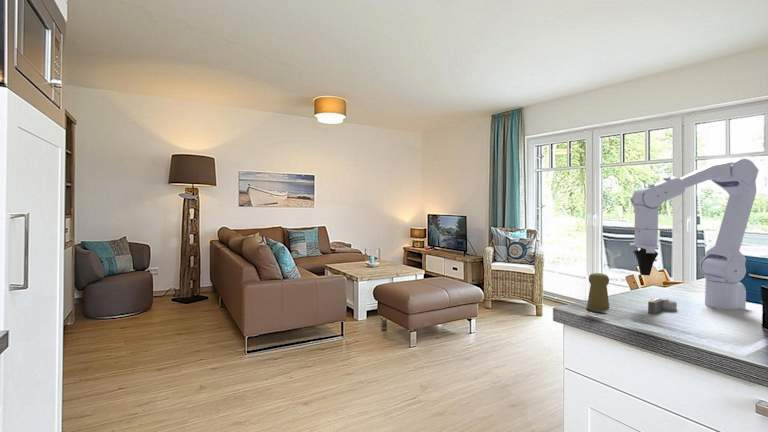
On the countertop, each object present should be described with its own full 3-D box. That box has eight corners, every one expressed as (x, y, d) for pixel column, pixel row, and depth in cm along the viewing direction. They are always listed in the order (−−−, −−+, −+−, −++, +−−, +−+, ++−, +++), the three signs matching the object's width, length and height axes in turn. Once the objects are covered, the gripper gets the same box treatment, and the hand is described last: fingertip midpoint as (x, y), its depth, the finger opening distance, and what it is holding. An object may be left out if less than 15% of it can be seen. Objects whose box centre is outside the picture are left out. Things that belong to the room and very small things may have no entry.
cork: (613, 314, 110) (614, 275, 110) (590, 313, 111) (590, 275, 111) (605, 309, 116) (606, 272, 116) (583, 307, 117) (584, 271, 117)
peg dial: (655, 304, 116) (655, 293, 116) (679, 308, 112) (680, 296, 111) (638, 310, 109) (639, 298, 109) (664, 315, 104) (664, 303, 104)
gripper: (626, 227, 123) (625, 270, 124) (634, 230, 110) (633, 278, 110) (653, 227, 120) (652, 271, 121) (664, 230, 107) (663, 280, 108)
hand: (645, 274), depth 115 cm, fingers closed
